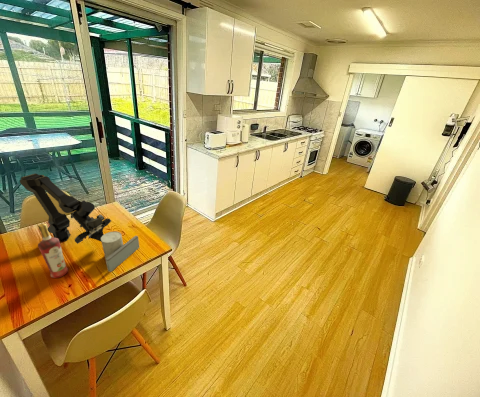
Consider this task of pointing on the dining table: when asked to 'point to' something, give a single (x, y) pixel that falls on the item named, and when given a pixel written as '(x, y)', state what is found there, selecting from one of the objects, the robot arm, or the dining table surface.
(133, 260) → the dining table surface
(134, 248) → the grey rectangular panel
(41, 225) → the liquor
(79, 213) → the robot arm
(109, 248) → the grey stubby cylinder
